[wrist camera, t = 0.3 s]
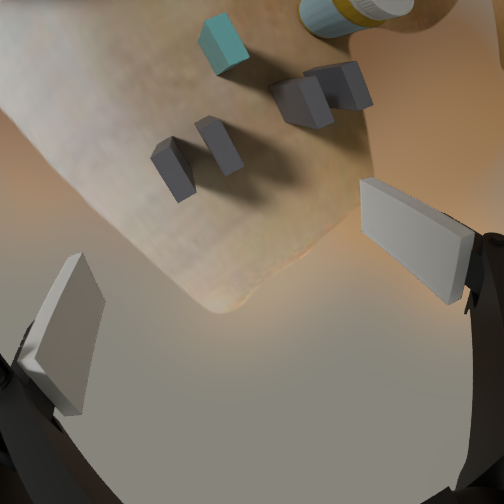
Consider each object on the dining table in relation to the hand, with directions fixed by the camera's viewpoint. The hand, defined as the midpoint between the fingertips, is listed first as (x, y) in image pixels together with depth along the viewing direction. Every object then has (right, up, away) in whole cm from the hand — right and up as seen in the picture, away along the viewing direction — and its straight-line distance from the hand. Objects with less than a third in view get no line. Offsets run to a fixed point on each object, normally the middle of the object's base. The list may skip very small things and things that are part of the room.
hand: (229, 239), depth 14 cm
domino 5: (+9, +20, +22) cm, 31 cm away
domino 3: (-4, +13, +22) cm, 26 cm away
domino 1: (-8, +11, +22) cm, 26 cm away
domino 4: (+5, +18, +22) cm, 29 cm away
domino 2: (-3, +22, +17) cm, 29 cm away
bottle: (+10, +30, +17) cm, 36 cm away
